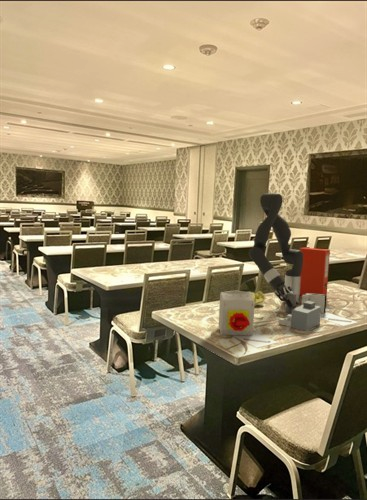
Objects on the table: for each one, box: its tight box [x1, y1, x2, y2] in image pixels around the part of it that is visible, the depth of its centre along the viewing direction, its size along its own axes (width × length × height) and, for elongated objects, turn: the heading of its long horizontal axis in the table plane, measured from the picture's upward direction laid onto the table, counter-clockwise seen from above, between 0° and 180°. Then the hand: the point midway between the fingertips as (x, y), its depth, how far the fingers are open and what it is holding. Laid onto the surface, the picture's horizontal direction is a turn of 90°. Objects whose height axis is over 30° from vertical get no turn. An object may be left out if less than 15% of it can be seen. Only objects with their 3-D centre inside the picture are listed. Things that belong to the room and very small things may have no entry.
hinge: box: [301, 293, 328, 314], centre depth 208 cm, size 14×5×10 cm, turn 87°
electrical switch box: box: [218, 289, 255, 336], centre depth 168 cm, size 15×15×20 cm
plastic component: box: [251, 290, 266, 307], centre depth 220 cm, size 20×7×10 cm
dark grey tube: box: [284, 292, 297, 315], centre depth 186 cm, size 5×5×11 cm
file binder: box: [299, 247, 331, 297], centre depth 243 cm, size 8×17×32 cm, turn 48°
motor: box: [278, 301, 322, 332], centre depth 187 cm, size 20×15×11 cm
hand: (294, 305), depth 185 cm, fingers closed on dark grey tube, 5 cm apart
